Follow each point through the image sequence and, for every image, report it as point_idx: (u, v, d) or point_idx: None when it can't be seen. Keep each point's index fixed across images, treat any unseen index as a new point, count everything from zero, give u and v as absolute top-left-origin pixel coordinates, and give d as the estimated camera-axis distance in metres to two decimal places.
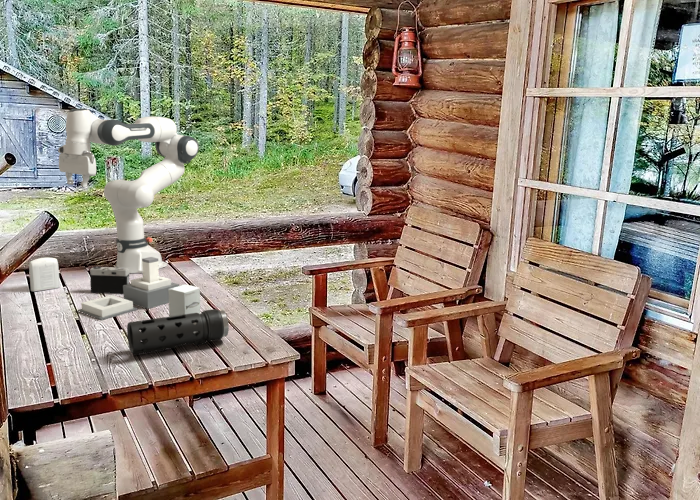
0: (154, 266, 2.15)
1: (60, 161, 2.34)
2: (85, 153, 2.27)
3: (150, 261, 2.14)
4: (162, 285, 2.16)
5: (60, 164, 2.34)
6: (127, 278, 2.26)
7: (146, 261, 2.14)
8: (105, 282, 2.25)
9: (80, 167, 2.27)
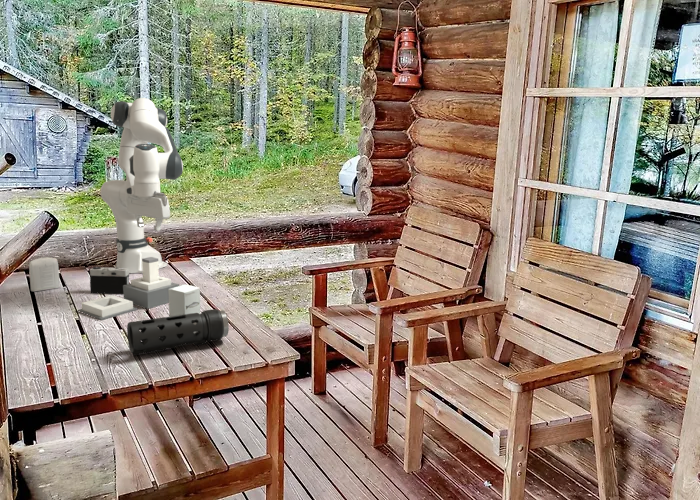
0: (154, 266, 2.15)
1: (128, 202, 2.14)
2: (156, 194, 2.07)
3: (150, 261, 2.14)
4: (162, 285, 2.16)
5: (128, 205, 2.15)
6: (127, 278, 2.25)
7: (146, 261, 2.14)
8: (104, 283, 2.24)
9: (152, 210, 2.07)
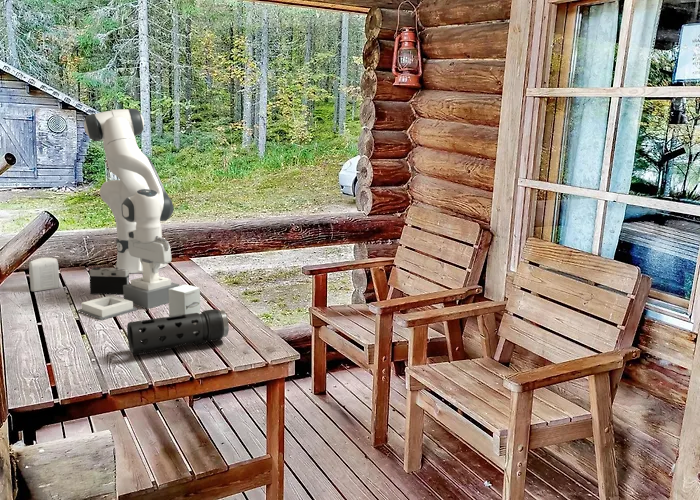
0: None
1: (130, 245, 2.18)
2: (158, 239, 2.10)
3: (150, 261, 2.14)
4: (162, 285, 2.16)
5: (130, 248, 2.18)
6: (127, 279, 2.25)
7: (146, 261, 2.14)
8: (104, 283, 2.23)
9: (154, 254, 2.11)
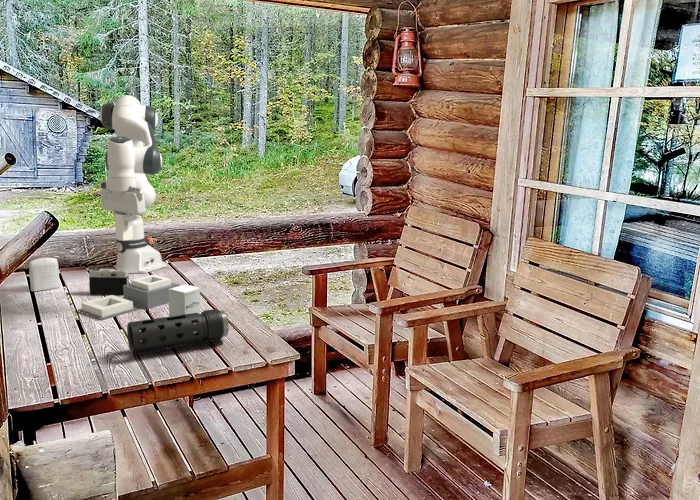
0: None
1: (102, 197, 2.06)
2: (132, 189, 1.99)
3: (123, 213, 2.02)
4: (162, 285, 2.16)
5: (103, 200, 2.07)
6: (127, 279, 2.24)
7: (119, 213, 2.03)
8: (104, 284, 2.22)
9: (127, 205, 2.00)
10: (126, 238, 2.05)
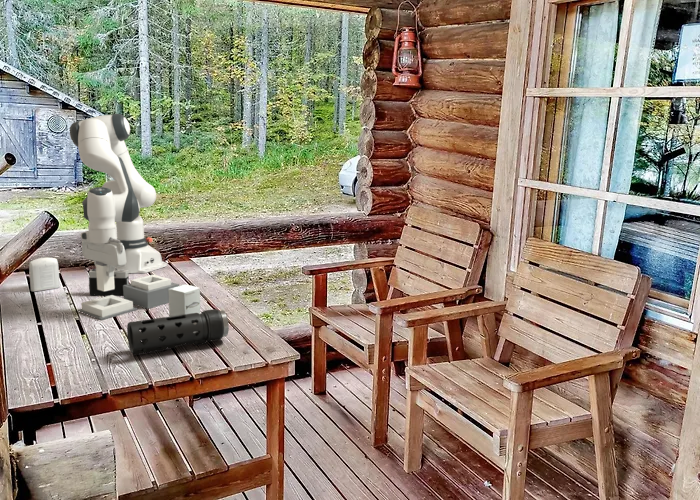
0: None
1: (83, 247, 2.05)
2: (112, 241, 1.97)
3: (104, 264, 2.00)
4: (162, 285, 2.16)
5: (84, 250, 2.05)
6: (127, 280, 2.23)
7: (100, 264, 2.01)
8: None
9: (108, 257, 1.98)
10: (107, 288, 2.03)
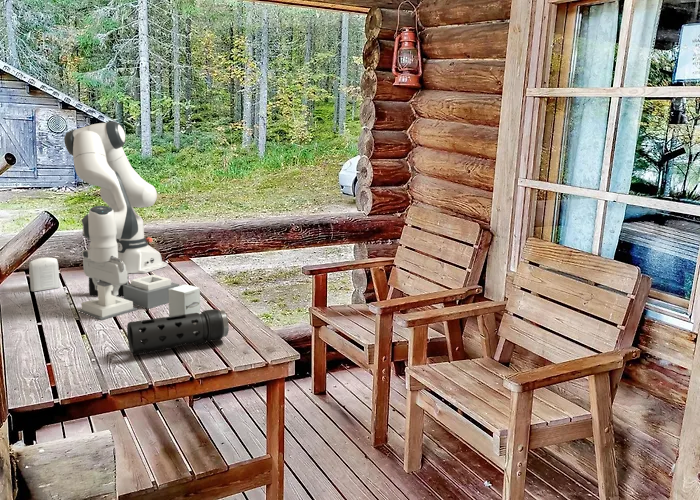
0: (110, 289, 2.04)
1: (85, 265, 2.06)
2: (113, 259, 1.99)
3: (105, 284, 2.02)
4: (162, 285, 2.16)
5: (85, 268, 2.07)
6: None
7: (101, 284, 2.02)
8: None
9: (109, 275, 1.99)
10: None
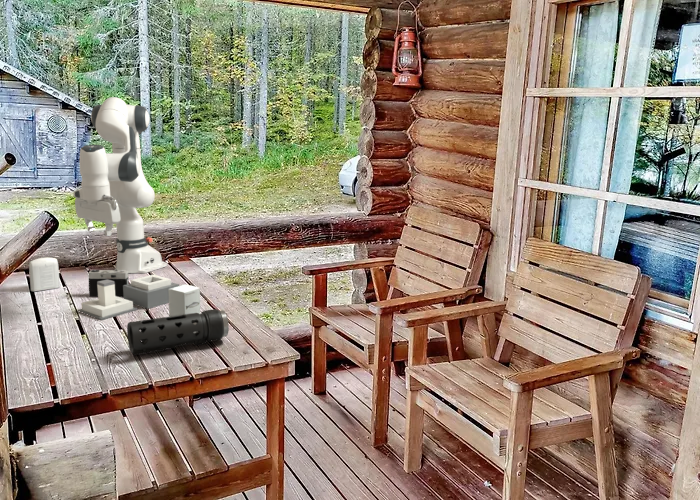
0: (110, 289, 2.04)
1: (77, 206, 2.04)
2: (105, 198, 1.97)
3: (105, 284, 2.02)
4: (162, 285, 2.16)
5: (77, 209, 2.05)
6: (127, 281, 2.22)
7: (101, 284, 2.02)
8: None
9: (101, 214, 1.98)
10: None
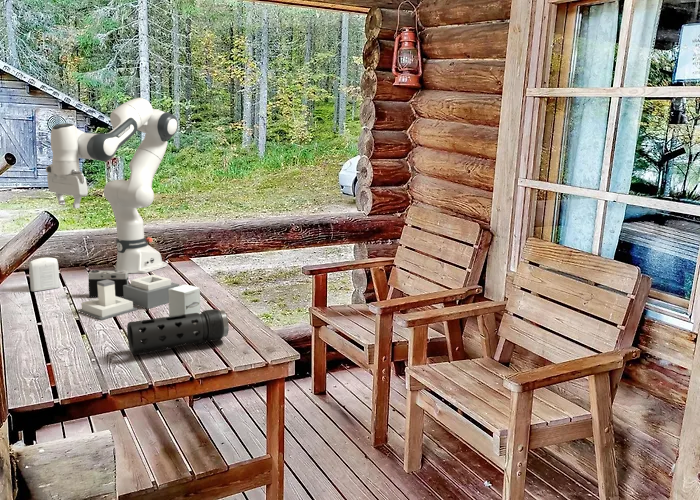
0: (110, 289, 2.04)
1: (49, 181, 2.19)
2: (74, 172, 2.12)
3: (105, 284, 2.02)
4: (162, 285, 2.16)
5: (49, 183, 2.20)
6: (127, 281, 2.22)
7: (101, 284, 2.02)
8: None
9: (70, 188, 2.13)
10: None
